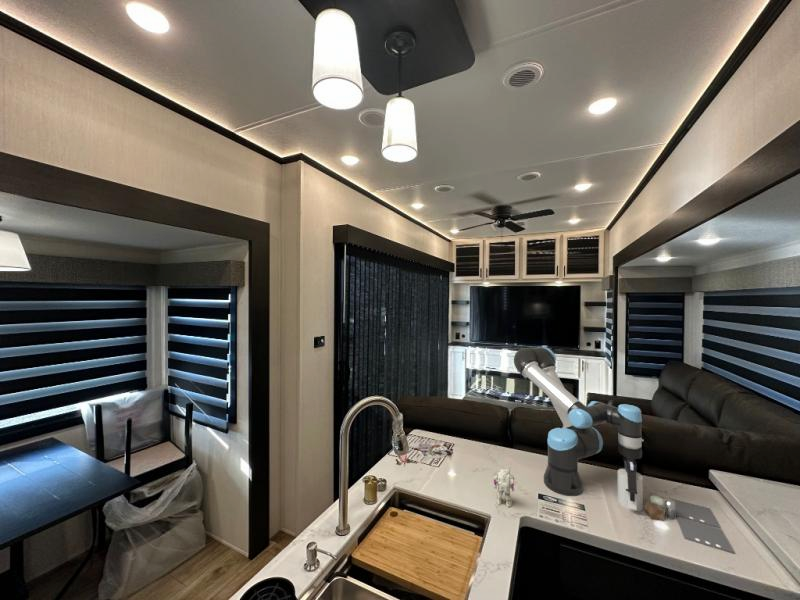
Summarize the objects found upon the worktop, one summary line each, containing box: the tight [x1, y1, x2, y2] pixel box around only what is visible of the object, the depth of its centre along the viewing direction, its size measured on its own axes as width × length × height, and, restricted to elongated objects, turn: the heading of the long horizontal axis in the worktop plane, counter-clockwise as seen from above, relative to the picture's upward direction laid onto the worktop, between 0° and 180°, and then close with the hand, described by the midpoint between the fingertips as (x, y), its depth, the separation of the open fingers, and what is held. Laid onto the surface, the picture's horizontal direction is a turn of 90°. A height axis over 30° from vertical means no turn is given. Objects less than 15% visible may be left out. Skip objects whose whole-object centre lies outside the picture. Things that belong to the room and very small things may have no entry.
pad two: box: [669, 497, 721, 529], centre depth 119 cm, size 12×12×1 cm
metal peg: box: [664, 497, 676, 520], centre depth 117 cm, size 3×3×6 cm
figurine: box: [493, 465, 515, 508], centre depth 124 cm, size 8×8×15 cm
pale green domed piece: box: [650, 495, 665, 510], centre depth 123 cm, size 4×4×3 cm
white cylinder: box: [617, 468, 644, 512], centre depth 124 cm, size 8×8×12 cm
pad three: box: [676, 516, 735, 554], centre depth 108 cm, size 12×12×1 cm
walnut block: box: [644, 501, 665, 522], centre depth 117 cm, size 4×4×4 cm
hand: (630, 499), depth 124 cm, fingers open, 12 cm apart
